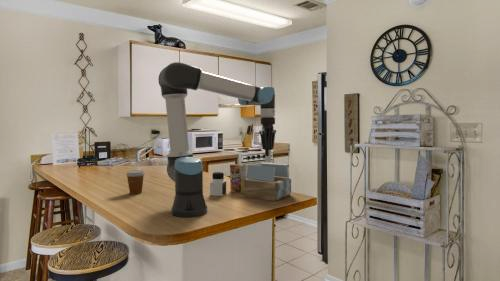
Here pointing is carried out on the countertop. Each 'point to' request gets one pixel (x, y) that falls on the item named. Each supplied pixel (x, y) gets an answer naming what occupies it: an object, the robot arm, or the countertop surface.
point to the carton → (268, 188)
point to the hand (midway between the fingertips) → (268, 162)
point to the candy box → (237, 178)
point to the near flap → (260, 173)
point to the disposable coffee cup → (135, 181)
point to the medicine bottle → (218, 184)
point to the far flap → (278, 169)
